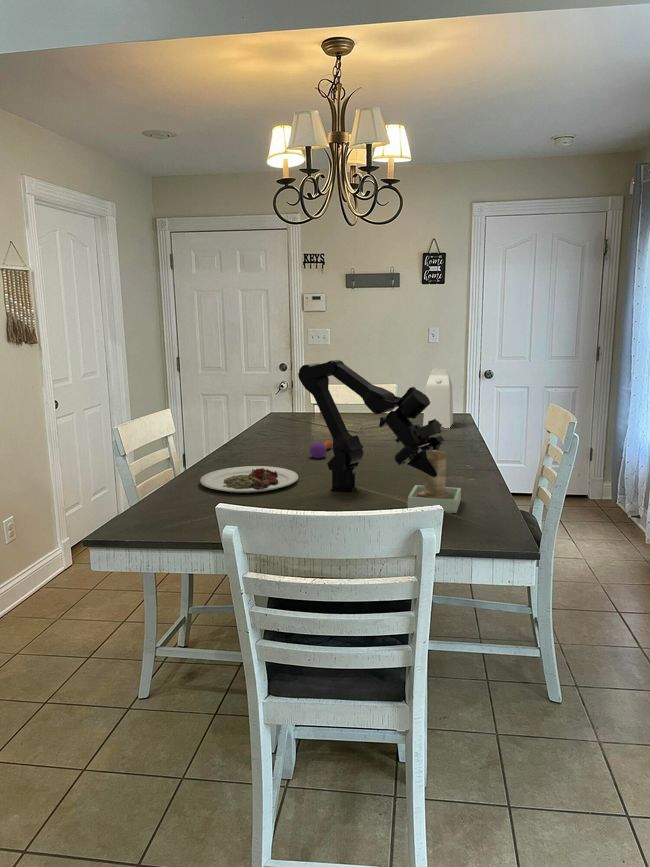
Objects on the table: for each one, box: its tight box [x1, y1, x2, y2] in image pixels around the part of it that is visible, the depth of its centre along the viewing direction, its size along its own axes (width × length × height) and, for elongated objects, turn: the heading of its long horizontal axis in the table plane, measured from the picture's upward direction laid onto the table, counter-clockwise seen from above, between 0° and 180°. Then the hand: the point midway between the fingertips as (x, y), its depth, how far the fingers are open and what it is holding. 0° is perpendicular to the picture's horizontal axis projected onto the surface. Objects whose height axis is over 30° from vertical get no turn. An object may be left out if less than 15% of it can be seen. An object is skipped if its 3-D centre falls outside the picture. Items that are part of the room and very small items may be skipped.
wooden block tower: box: [416, 450, 453, 499], centre depth 174 cm, size 7×7×12 cm
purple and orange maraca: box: [309, 439, 333, 459], centre depth 241 cm, size 6×6×20 cm
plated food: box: [199, 465, 299, 494], centre depth 201 cm, size 30×30×3 cm
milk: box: [422, 368, 454, 429], centre depth 294 cm, size 12×12×26 cm
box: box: [407, 484, 462, 514], centre depth 175 cm, size 13×13×4 cm
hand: (439, 474), depth 173 cm, fingers closed on wooden block tower, 4 cm apart
